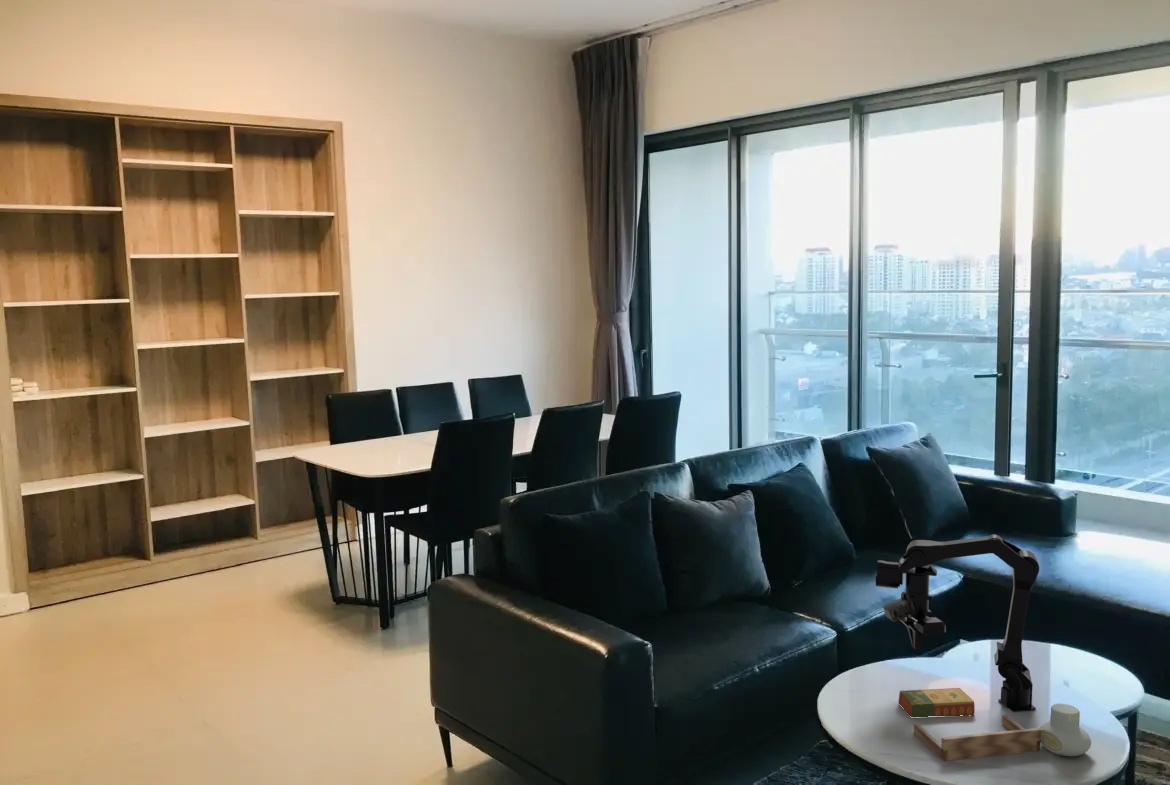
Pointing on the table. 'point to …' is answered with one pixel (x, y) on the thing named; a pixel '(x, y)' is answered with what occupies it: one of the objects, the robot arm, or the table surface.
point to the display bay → (983, 742)
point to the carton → (936, 702)
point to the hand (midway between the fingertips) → (915, 648)
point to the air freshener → (1065, 732)
